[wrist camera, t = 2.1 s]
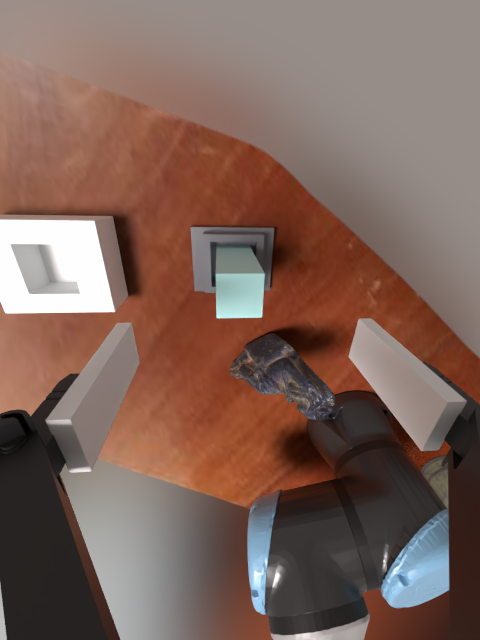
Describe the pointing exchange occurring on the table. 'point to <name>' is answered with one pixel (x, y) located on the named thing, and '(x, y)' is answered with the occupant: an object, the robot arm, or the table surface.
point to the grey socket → (212, 236)
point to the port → (60, 264)
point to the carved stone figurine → (283, 375)
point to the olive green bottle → (437, 477)
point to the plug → (238, 282)
